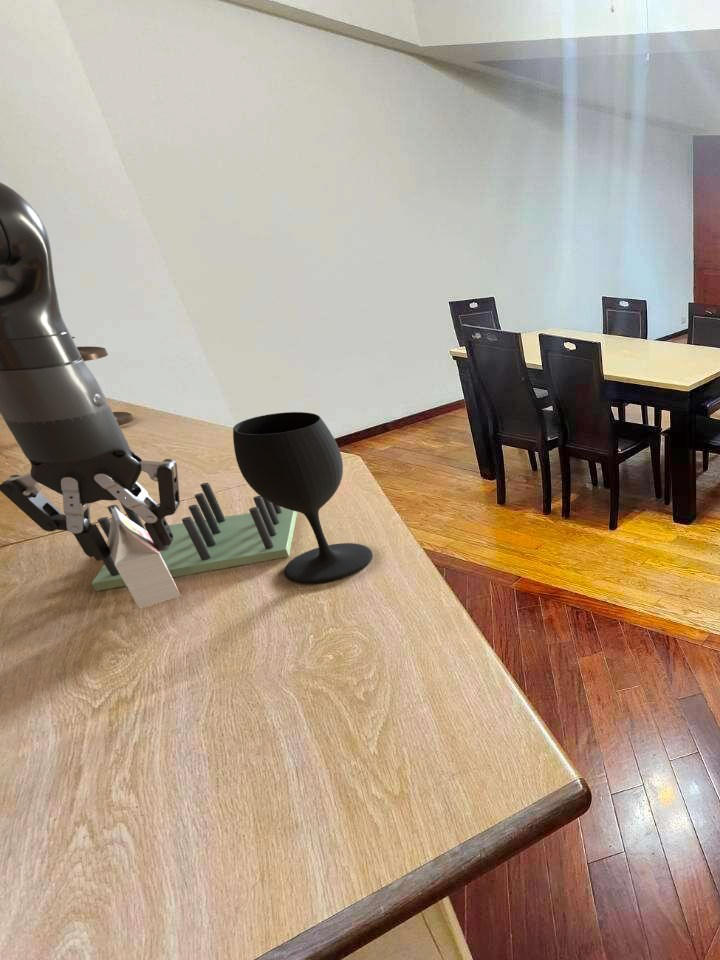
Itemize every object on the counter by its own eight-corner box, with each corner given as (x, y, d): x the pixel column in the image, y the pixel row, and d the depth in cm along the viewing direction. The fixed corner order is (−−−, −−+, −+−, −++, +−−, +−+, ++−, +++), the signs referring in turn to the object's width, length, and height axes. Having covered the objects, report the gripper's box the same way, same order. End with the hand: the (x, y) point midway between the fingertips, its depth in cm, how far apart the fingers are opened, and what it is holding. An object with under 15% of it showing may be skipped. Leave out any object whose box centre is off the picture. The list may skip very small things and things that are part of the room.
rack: (96, 591, 73) (65, 541, 70) (130, 538, 84) (105, 492, 81) (289, 556, 82) (270, 510, 78) (297, 512, 93) (281, 470, 90)
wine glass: (363, 579, 78) (314, 434, 68) (272, 589, 75) (206, 439, 65) (380, 541, 86) (338, 408, 76) (299, 549, 84) (244, 411, 74)
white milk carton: (139, 608, 68) (96, 532, 63) (131, 584, 72) (89, 511, 66) (180, 596, 70) (142, 522, 65) (170, 574, 74) (133, 502, 69)
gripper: (158, 392, 65) (218, 527, 74) (-28, 404, 59) (62, 550, 68) (139, 411, 60) (207, 555, 68) (-68, 426, 54) (35, 582, 62)
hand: (134, 551), depth 68 cm, fingers closed on white milk carton, 4 cm apart
